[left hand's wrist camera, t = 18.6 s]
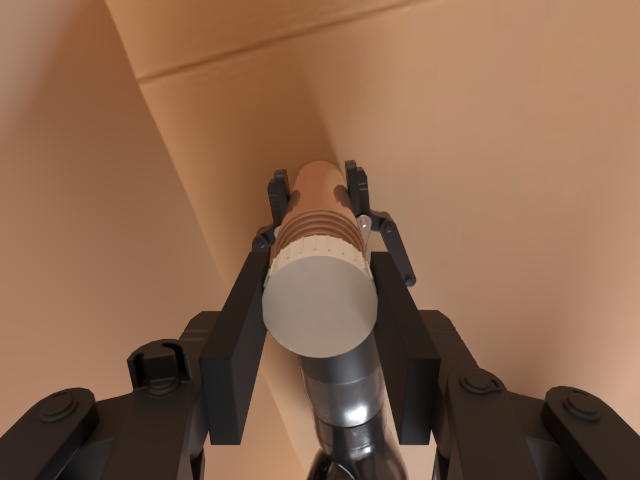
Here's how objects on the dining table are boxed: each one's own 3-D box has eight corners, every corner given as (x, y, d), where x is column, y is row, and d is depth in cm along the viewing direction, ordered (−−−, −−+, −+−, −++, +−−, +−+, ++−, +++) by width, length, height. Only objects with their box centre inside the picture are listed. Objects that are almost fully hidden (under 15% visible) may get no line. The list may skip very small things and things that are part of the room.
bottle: (326, 217, 34) (335, 369, 14) (286, 191, 34) (236, 315, 14) (353, 178, 33) (405, 286, 13) (313, 150, 32) (301, 220, 12)
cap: (288, 217, 14) (283, 235, 12) (390, 256, 14) (401, 279, 12) (253, 308, 15) (243, 337, 13) (347, 340, 16) (351, 373, 14)
